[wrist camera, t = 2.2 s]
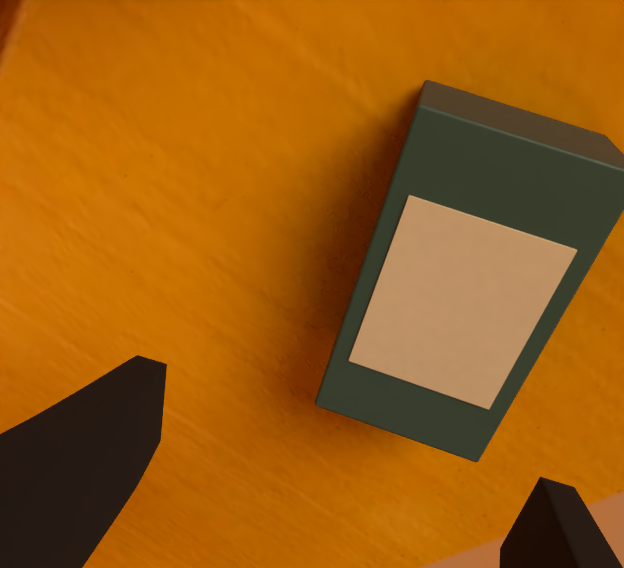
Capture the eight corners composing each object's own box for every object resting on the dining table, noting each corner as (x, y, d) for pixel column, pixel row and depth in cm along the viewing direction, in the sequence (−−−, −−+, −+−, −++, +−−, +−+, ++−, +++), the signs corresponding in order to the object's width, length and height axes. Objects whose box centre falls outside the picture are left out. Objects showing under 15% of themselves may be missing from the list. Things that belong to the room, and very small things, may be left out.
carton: (424, 79, 16) (417, 103, 12) (607, 135, 15) (646, 176, 12) (334, 341, 20) (313, 407, 17) (474, 389, 20) (477, 465, 17)
